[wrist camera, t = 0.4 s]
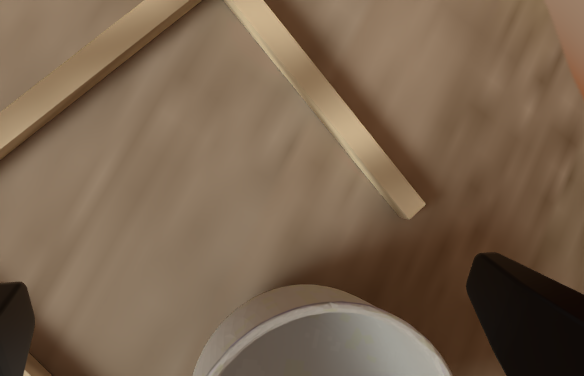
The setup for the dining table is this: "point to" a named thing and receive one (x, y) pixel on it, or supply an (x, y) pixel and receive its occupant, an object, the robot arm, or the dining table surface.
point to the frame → (274, 41)
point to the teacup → (316, 338)
